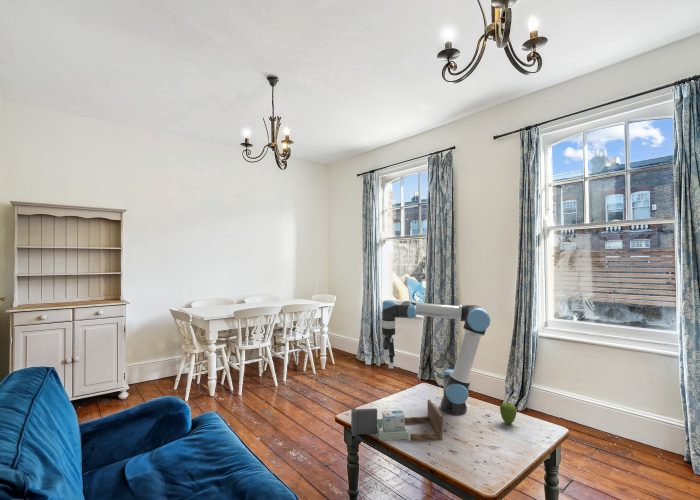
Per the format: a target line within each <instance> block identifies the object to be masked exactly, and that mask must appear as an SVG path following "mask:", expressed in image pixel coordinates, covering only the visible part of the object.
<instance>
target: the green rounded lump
mask: <svg viewBox="0 0 700 500" xmlns="http://www.w3.org/2000/svg"><path fill="white" fill-rule="evenodd" d="M517 409H518V408H517V407H516V406H515V404H513V403H511V402H508V401H507V402H502V403H501V404H500V407H499V410H500V415H501V418H502V420H503V422H504V423H505V424H506V423H507V424H506V425H511V424H513V422H515V419H516V416H517V413H518V411H517Z"/></svg>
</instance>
